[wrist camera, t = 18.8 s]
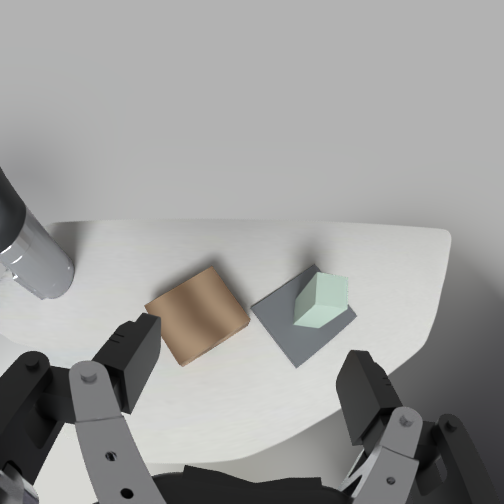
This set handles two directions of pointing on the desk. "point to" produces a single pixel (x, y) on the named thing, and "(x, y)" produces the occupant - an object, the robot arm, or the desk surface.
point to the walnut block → (198, 316)
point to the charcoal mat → (282, 315)
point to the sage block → (321, 300)
